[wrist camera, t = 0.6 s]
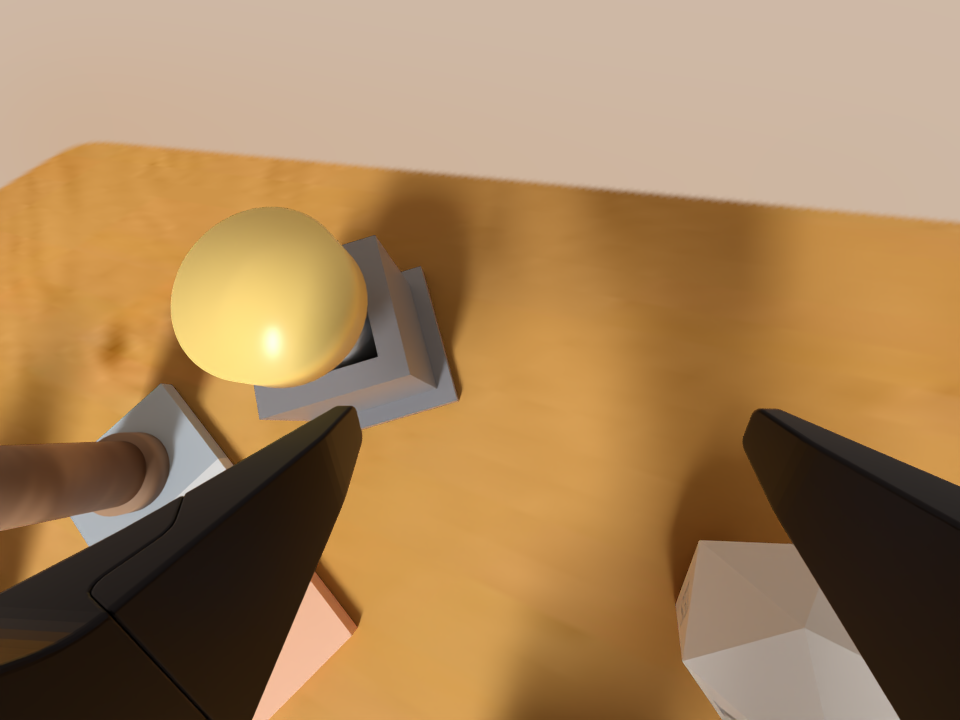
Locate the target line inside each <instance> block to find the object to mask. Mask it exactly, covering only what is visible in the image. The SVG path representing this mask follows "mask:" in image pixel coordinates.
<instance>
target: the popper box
mask: <svg viewBox="0 0 960 720" xmlns="http://www.w3.org/2000/svg"><path fill="white" fill-rule="evenodd" d="M342 246H343V247H344V248H345V250H346V251H347V252H348V253H349V254H350V255H351V256H352V257H353V258H354V260H355V261H356V263H357V264H358V266H359V268H360V270H361V272H362V274H363V277H364V280H365V283H366V289H367V299H368V305H367V312H368V316H369V320H370V324H371V329H372V333H373V337H374V341H375V346H376V350H377V354H378V357H376V358H373V359H369V360H366V361H363V362H359V363H356V364H353V365H349V366H346V367H343V368H339V369H336V370H333V371H330V372H329V373H327V374H326V375H324V376H322V377H320V378H319V379H317V380H315V381H312V382H310V383H307V384H304V385H300V386H296V387H290V388H270V387H264V386H258V385H254V389H255V395H256V401H257V407H258V413H259V419H260V420H294V421H311V420H313V419H315V418H316V417H318V416H320V415H321V414H323V413H325V412H327V411H328V410H330V409H332V408H334V407H335V406H353V407H355V409H356V411H357V414H358V418H359V422H360V427H361V430H362V429H366V428H369V427H372V426H376V425H379V424H383V423H386V422H389V421H393V420H396V419H400V418H403V417H406V416H410V415H413V414H417V413H420V412H423V411H427V410H430V409H433V408H437V407H440V406H444V405H447V404H450V403H454V402H457V401H459V399H458V396H457V392H456V388H455V385H454V381H453V377H452V374H451V370H450V366H449V363H448V359H447V356H446V352H445V348H444V345H443V341H442V337H441V334H440V330H439V326H438V323H437V319H436V316H435V312H434V308H433V305H432V301H431V297H430V294H429V290H428V286H427V283H426V279H425V276H424V272H423V270H422V268H421V266H419V267H416V268H413V269H409V270H406V271H403V272H400V270H399V269H398V267H397V266H396V264H395V263H394V262H393V260H392V259H391V257H390V256H389V254H388V253H387V251H386V250H385V249H384V247H383V246H382V244H381V243H380V241H379V240H378V239H377V237H376V236H375V235H373V236H370V237H367V238H364V239H360V240H357V241H354V242H351V243H347V244H344V245H342Z"/></svg>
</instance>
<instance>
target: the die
mask: <svg viewBox="0 0 960 720" xmlns="http://www.w3.org/2000/svg"><path fill="white" fill-rule="evenodd" d="M675 606H676V614H677V623H678V631H679V639H680V648H681V656H682V662H683V663H684V665H685V666H686V668H687V669H688V671H689V672H690V673H691V675H692V676H693V678H694V679H695V681H696V682H697V684H698V685H699V687H700V688H701V690H702V691H703V692H704V694H705V695H706V697H707V698H708V700H709V701H710V703H711V704H712V706H713V707H714V708H715V710H716V711H717V713H718V714H719V716H720V717H721V719H722V720H900V719H899V717H898V716H897V714H896V712H895V711H894V709H893V707H892V706H891V704H890V702H889V701H888V699H887V697H886V696H885V694H884V692H883V691H882V689H881V688H880V686H879V684H878V683H877V681H876V679H875V678H874V676H873V674H872V673H871V671H870V669H869V668H868V666H867V665H866V663H865V661H864V660H863V658H862V656H861V655H860V653H859V651H858V650H857V648H856V646H855V645H854V643H853V641H852V640H851V638H850V637H849V635H848V633H847V632H846V630H845V628H844V627H843V625H842V623H841V622H840V620H839V618H838V617H837V615H836V614H835V612H834V610H833V609H832V607H831V605H830V604H829V602H828V600H827V599H826V597H825V595H824V594H823V592H822V590H821V589H820V587H819V586H818V584H817V582H816V581H815V579H814V577H813V576H812V574H811V572H810V571H809V569H808V567H807V566H806V564H805V563H804V561H803V559H802V558H801V556H800V554H799V553H798V551H797V549H796V548H795V546H794V544H779V543H756V542H732V541H709V540H699V542H698V545H697V548H696V550H695V553H694V556H693V558H692V561H691V564H690V567H689V569H688V572H687V575H686V577H685V580H684V583H683V586H682V588H681V591H680V594H679V596H678V599H677V602H676V605H675Z"/></svg>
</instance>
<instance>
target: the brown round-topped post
mask: <svg viewBox="0 0 960 720" xmlns="http://www.w3.org/2000/svg"><path fill="white" fill-rule="evenodd" d="M169 468H170V463H169V456H168V453H167V450H166V448H165V446H164V445H163V443H162V442H161V441H160V440H159V439H158V438H156V437H155V436H153V435H151V434H148V433H144V432H122V433H115V434H111V435H109V436H106V437H105V438H103V439H101V440H100V441H98V442H80V443H54V444H28V445H2V446H0V531H3V530H7V529H12V528H17V527H22V526H27V525H32V524H36V523H41V522H46V521H51V520H56V519H61V518H65V517H70V516H75V515H80V514H85V513H90V512H94V513H96V514H98V515H101V516H107V517H112V516H118V515H122V514H127V513H131V512H135V511H139V510H141V509H143V508H145V507H147V506H148V505H150V504H151V503H152V502H153V501H155V500H156V498H157V497H158V496H159V495H160V493H161V492H162V490H163V489H164V487H165V485H166V482H167V479H168V475H169Z"/></svg>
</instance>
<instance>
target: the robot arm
mask: <svg viewBox="0 0 960 720" xmlns="http://www.w3.org/2000/svg"><path fill="white" fill-rule="evenodd" d="M361 443H362V431H361V427H360V422H359V418H358V414H357V411H356V409H355V407H353V406H335V407H334V408H332V409H330V410H328V411H327V412H325V413H323V414H321V415H320V416H318V417H316V418H315V419H313V420H311V421H309V422H308V423H306V424H304V425H302V426H301V427H299V428H297V429H296V430H294V431H292V432H290V433H289V434H287V435H285V436H283V437H282V438H280V439H278V440H277V441H275V442H273V443H271V444H270V445H268V446H266V447H264V448H263V449H261V450H259V451H258V452H256V453H254V454H252V455H251V456H249V457H247V458H245V459H244V460H242V461H240V462H239V463H237V464H235V465H233V466H232V467H230V468H228V469H226V470H225V471H223V472H221V473H220V474H218V475H216V476H214V477H213V478H211V479H209V480H207V481H206V482H204V483H202V484H201V485H199V486H197V487H195V488H194V489H192V490H190V491H188V492H187V493H185V495H184V496H180V497H178V498H176V499H174V500H173V501H171V502H169V503H168V504H166V505H164V506H162V507H161V508H159V509H157V510H155V511H154V512H152V513H150V514H148V515H147V516H145V517H143V518H141V519H139V520H138V521H136V522H134V523H132V524H131V525H129V526H127V527H125V528H123V529H121V530H120V531H118V532H116V533H114V534H112V535H110V536H108V537H106V538H104V539H103V540H101V541H99V542H97V543H95V544H93V545H91V546H89V547H87V548H86V549H84V550H82V551H80V552H78V553H76V554H74V555H72V556H70V557H68V558H66V559H64V560H63V561H61V562H59V563H57V564H55V565H53V566H51V567H49V568H47V569H45V570H43V571H41V572H39V573H37V574H36V575H34V576H32V577H30V578H28V579H26V580H24V581H22V582H20V583H18V584H16V585H14V586H12V587H11V588H9V589H7V590H5V591H3V592H1V593H0V720H252V719H253V717H254V714H255V712H256V710H257V707H258V705H259V703H260V700H261V698H262V695H263V693H264V691H265V688H266V686H267V684H268V681H269V679H270V676H271V674H272V672H273V669H274V667H275V665H276V662H277V660H278V657H279V655H280V653H281V650H282V648H283V646H284V643H285V641H286V638H287V636H288V634H289V631H290V629H291V627H292V624H293V622H294V619H295V617H296V615H297V612H298V610H299V608H300V605H301V603H302V600H303V598H304V596H305V593H306V591H307V589H308V586H309V584H310V581H311V579H312V577H313V574H314V572H315V570H316V567H317V565H318V562H319V560H320V558H321V555H322V553H323V551H324V548H325V546H326V543H327V541H328V539H329V536H330V534H331V532H332V529H333V527H334V524H335V522H336V520H337V517H338V515H339V513H340V510H341V508H342V505H343V503H344V500H345V497H346V494H347V491H348V487H349V484H350V481H351V477H352V474H353V471H354V467H355V464H356V460H357V457H358V454H359V450H360V447H361ZM743 448H744V451H745V453H746V455H747V457H748V459H749V461H750V463H751V465H752V467H753V469H754V472H755V474H756V476H757V478H758V480H759V482H760V484H761V486H762V488H763V490H764V493H765V495H766V497H767V499H768V501H769V503H770V505H771V507H772V509H773V511H774V513H775V514H776V516H777V518H778V520H779V521H780V523H781V525H782V526H783V528H784V530H785V531H786V533H787V535H788V536H789V538H790V539H791V541H792V543H793V544H794V546H795V548H796V549H797V551H798V553H799V554H800V556H801V558H802V559H803V561H804V563H805V564H806V566H807V567H808V569H809V571H810V572H811V574H812V576H813V577H814V579H815V581H816V582H817V584H818V586H819V587H820V589H821V590H822V592H823V594H824V595H825V597H826V599H827V600H828V602H829V604H830V605H831V607H832V609H833V610H834V612H835V614H836V615H837V617H838V618H839V620H840V622H841V623H842V625H843V627H844V628H845V630H846V632H847V633H848V635H849V637H850V638H851V640H852V641H853V643H854V645H855V646H856V648H857V650H858V651H859V653H860V655H861V656H862V658H863V660H864V661H865V663H866V665H867V666H868V668H869V669H870V671H871V673H872V674H873V676H874V678H875V679H876V681H877V683H878V684H879V686H880V688H881V689H882V691H883V692H884V694H885V696H886V697H887V699H888V701H889V702H890V704H891V706H892V707H893V709H894V711H895V712H896V714H897V716H898V717H899V719H900V720H960V486H958V485H955V484H953V483H951V482H948V481H946V480H944V479H941V478H939V477H937V476H934V475H932V474H930V473H927V472H925V471H923V470H920V469H918V468H916V467H913V466H911V465H908V464H906V463H904V462H901V461H899V460H897V459H894V458H892V457H890V456H887V455H885V454H883V453H880V452H878V451H876V450H873V449H871V448H869V447H866V446H864V445H862V444H859V443H857V442H855V441H852V440H850V439H848V438H845V437H843V436H841V435H838V434H836V433H834V432H831V431H829V430H827V429H824V428H822V427H820V426H817V425H815V424H813V423H810V422H808V421H806V420H803V419H801V418H798V417H796V416H794V415H791V414H789V413H787V412H784V411H782V410H779V409H757V410H755V411H754V412H753V413H752V415H751V418H750V420H749V423H748V426H747V428H746V431H745V433H744V436H743Z"/></svg>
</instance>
